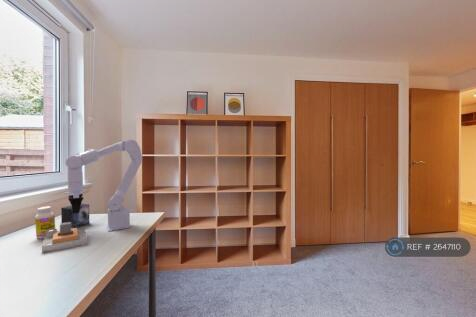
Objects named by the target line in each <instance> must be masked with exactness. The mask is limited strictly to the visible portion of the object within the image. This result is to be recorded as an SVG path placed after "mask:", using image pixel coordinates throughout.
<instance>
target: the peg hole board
mask: <svg viewBox="0 0 476 317" xmlns="http://www.w3.org/2000/svg"><path fill="white" fill-rule="evenodd" d="M57 231H58V229H57V228H55V229H50V230H47V231H46V236H45V238H43V241H42V244H41V245H42V246H41V253H42V254H45V253H49V252H55V251H60V250H64V249H69V248H74V247H80V246H84V245H88V237H87V233H86V232H87V231H86V229H85V228H84V229H77V232H78V239H75V240H70V241H64V242H59V243H53V244H52V239H53V234H54V233H56V232H57Z"/></svg>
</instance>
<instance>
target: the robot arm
mask: <svg viewBox="0 0 476 317" xmlns="http://www.w3.org/2000/svg"><path fill="white" fill-rule="evenodd" d="M141 151H142V150H141V147H140V145H139V143H138V141H136V140H135V139H128V140H126V141H125V140H124V141H119V142H116V143H113V144H111V145H108V146H106V147H103V148H101V149H99V150H97V149H94V148H92V149H91V148H88V149H87V150H86V151H85V152H81V153H80V152H78V153H76V155H71V156H70V157H68V158H66V160H65V165H66V167H67V191H65V192H64V195H68V201H69V202H70V206H72V209H73V213H79V212H80V206H81V204H82V202H83V200H84V199H85V197H84V196H83V193H84V192H85V191H84V182H83V180H84V179H83V177H84V176H83V166H87V165H91V164H92V163H94V162H95V163H96V162H98V161H100V159H101V157H103V156H107V155H109V154H111V153H112V154H113V153H115V152H126V153H128V155H129V157H130V160H131V161H130V164H129V166H128V167H127V169H126V171H125V174H124V175H123V177H122V179H121V182H119V185H118V187H117V188H116V191H115V193H114V195H112V196H111V197H110V199H109V200H108V201H107V225H106V229H107V231H108V232H112V231H118V230H124V229H128V228H129V229H130V228H131V222H130V220H131V218H130V209H129V208H125V207H124V206H123V204H124V202H125V201H124V199H125V197H126V196H125V195H126V194H127V192H128V190H129V188H130V186H131V184H132V182H133V180H134V179H135V176H136V174H137V172H138V170H139V168H140V166H141V165H142V162H143V155H142V152H141Z"/></svg>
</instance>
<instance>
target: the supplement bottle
mask: <svg viewBox="0 0 476 317" xmlns="http://www.w3.org/2000/svg"><path fill="white" fill-rule="evenodd" d="M51 210H52V207H51V206H48V205H47V206H42V207H38V208H37V210H36V211H37V214H36V215H35V216H34V220H35V221H34V222H35V234H36V235H35V237H36V238H37V239H43V240H44V238H45V236H46V231H47V230H50V229H56V219H55V218H56V216H55V212H52V211H51Z"/></svg>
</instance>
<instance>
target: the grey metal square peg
mask: <svg viewBox="0 0 476 317" xmlns="http://www.w3.org/2000/svg"><path fill="white" fill-rule="evenodd" d="M59 231H60V236H62V235H68V234H71V222H67V223H62V222H60V225H59Z"/></svg>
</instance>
